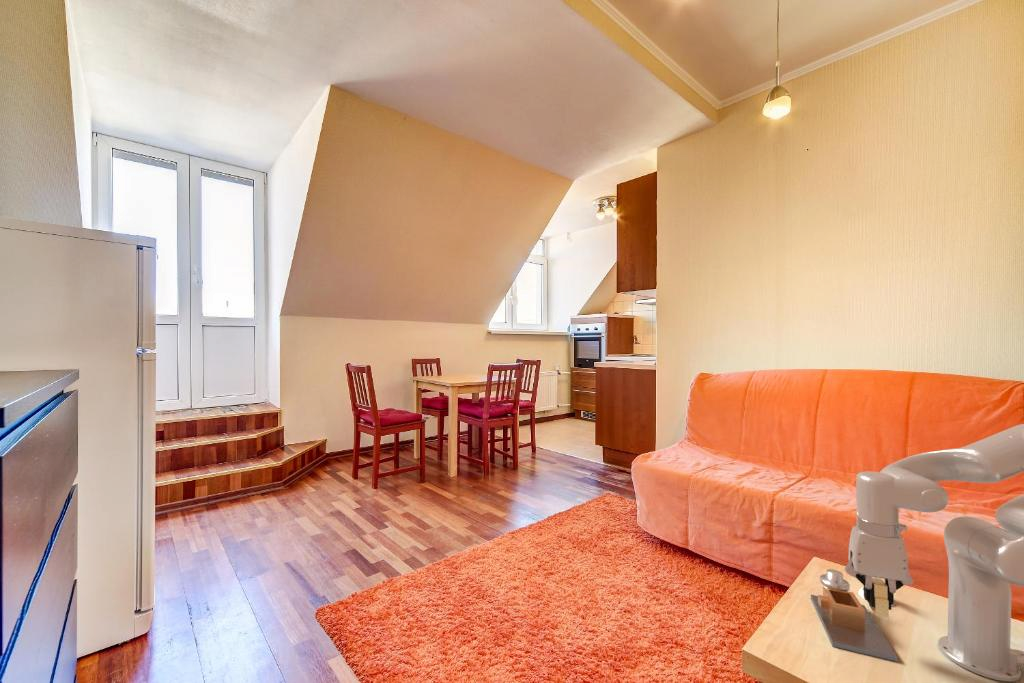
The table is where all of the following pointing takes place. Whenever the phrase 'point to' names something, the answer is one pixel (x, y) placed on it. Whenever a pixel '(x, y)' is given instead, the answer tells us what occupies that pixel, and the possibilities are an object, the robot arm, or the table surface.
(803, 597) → the table surface
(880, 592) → the pale yellow block
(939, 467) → the robot arm
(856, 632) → the tray with wooden box
